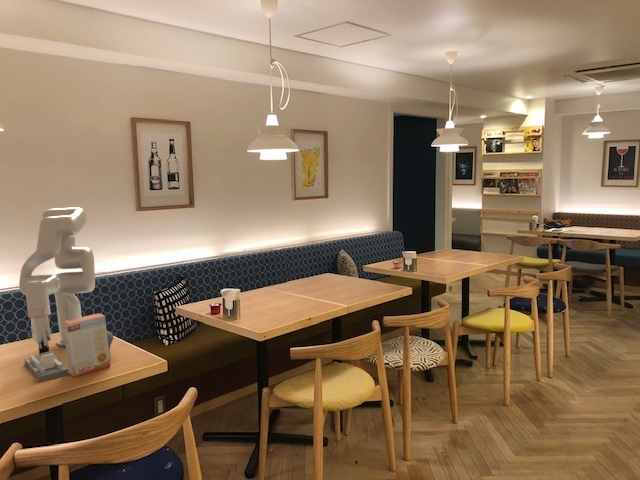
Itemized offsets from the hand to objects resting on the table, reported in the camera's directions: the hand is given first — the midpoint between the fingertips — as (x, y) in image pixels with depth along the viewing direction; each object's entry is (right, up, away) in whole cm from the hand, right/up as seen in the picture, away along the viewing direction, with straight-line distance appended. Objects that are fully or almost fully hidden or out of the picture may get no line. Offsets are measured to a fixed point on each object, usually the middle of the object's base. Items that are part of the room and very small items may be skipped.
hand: (44, 357), depth 205 cm
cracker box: (+18, -5, -1) cm, 19 cm away
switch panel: (0, -5, +1) cm, 5 cm away
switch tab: (+3, -3, -3) cm, 5 cm away
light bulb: (+18, -2, +15) cm, 24 cm away
